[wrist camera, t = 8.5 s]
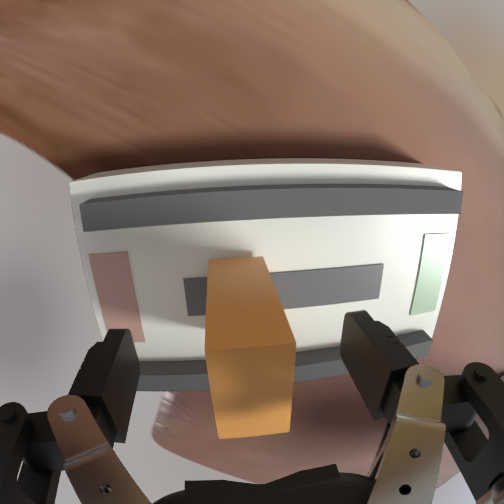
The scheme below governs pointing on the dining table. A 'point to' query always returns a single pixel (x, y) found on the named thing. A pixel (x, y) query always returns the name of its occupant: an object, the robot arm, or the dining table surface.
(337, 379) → the dining table surface
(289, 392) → the block
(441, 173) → the breaker panel
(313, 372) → the pair of grey rails
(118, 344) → the robot arm
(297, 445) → the dining table surface
